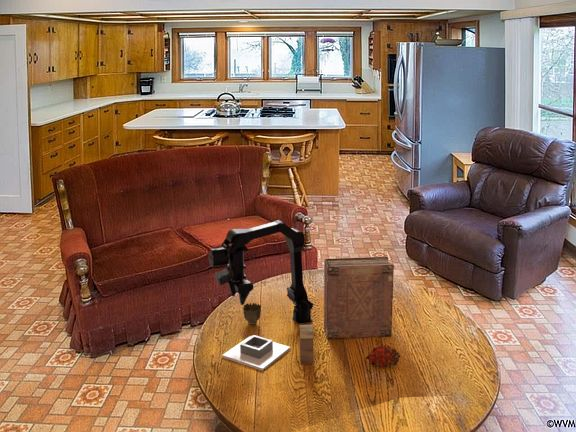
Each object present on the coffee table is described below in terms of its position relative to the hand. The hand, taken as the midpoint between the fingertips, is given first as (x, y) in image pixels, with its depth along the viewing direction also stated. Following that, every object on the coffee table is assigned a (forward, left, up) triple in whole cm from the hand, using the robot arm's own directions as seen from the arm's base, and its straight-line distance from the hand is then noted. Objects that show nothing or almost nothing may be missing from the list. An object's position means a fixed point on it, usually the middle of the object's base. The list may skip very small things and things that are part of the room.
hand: (237, 300), depth 228 cm
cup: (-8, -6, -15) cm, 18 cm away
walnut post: (-14, +30, -15) cm, 36 cm away
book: (-42, +20, -15) cm, 49 cm away
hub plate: (0, +17, -15) cm, 22 cm away
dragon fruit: (-36, +46, -15) cm, 61 cm away
